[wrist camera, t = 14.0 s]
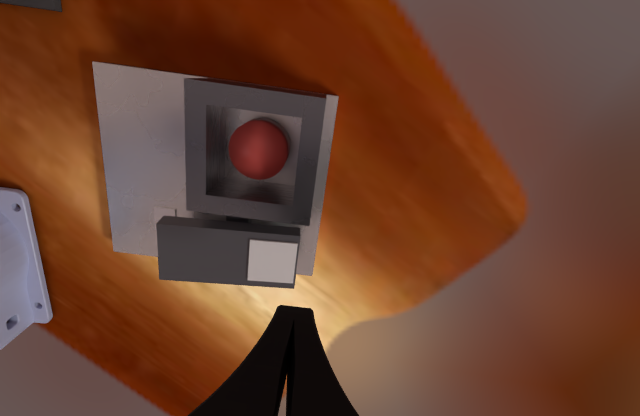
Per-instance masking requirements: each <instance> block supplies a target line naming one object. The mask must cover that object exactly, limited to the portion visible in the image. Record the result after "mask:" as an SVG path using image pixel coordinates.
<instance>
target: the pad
mask: <svg viewBox="0 0 640 416" xmlns="http://www.w3.org/2000/svg"><path fill="white" fill-rule="evenodd" d="M0 3H5V4H12V5H19V6H25V7H32V8H39V9H46V10H53V11H60V12H62V8H61V0H0Z"/></svg>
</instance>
